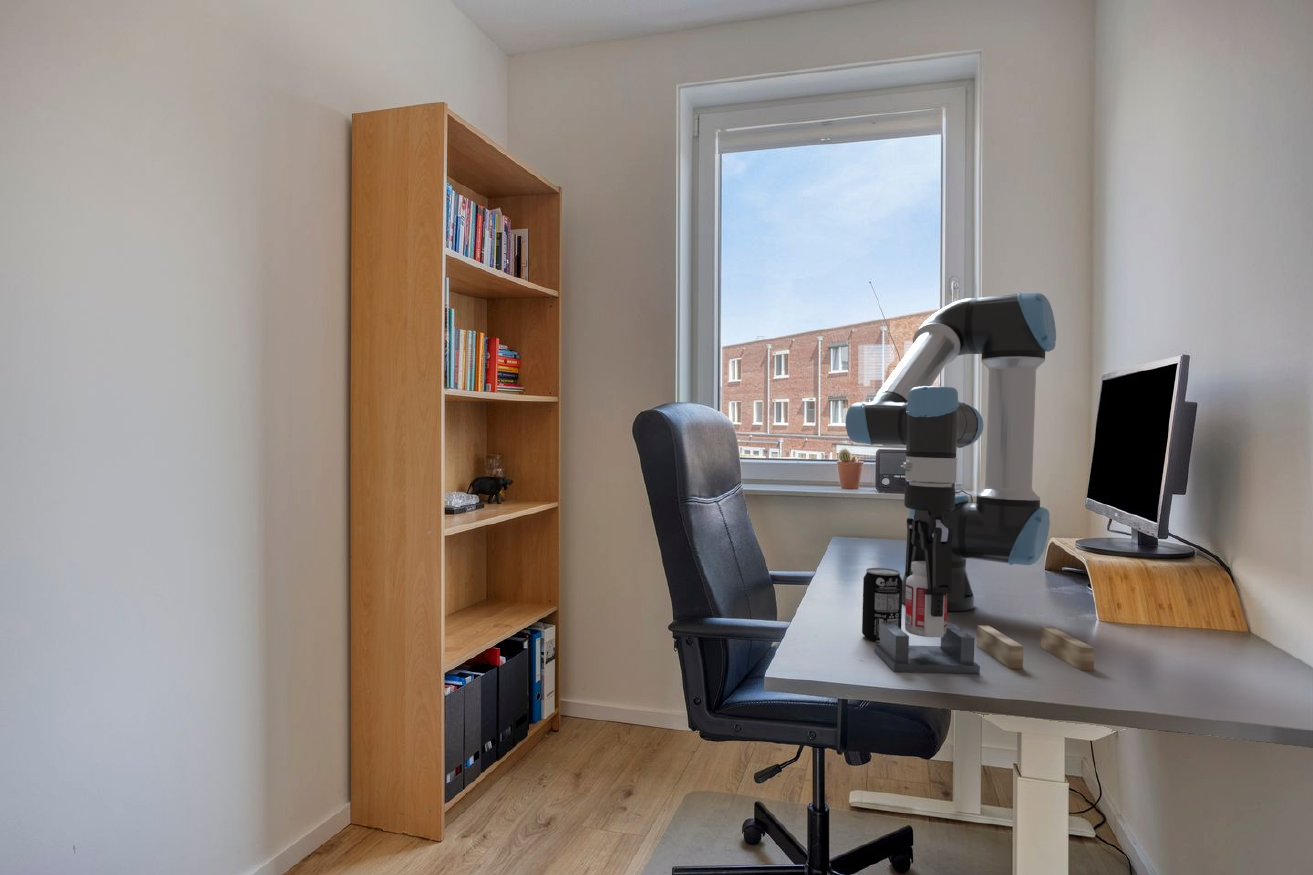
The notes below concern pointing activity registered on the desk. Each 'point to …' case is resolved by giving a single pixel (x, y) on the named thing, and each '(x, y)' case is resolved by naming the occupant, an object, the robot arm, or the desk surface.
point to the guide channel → (1050, 641)
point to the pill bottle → (918, 600)
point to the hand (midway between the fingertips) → (925, 629)
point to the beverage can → (881, 600)
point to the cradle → (927, 652)
